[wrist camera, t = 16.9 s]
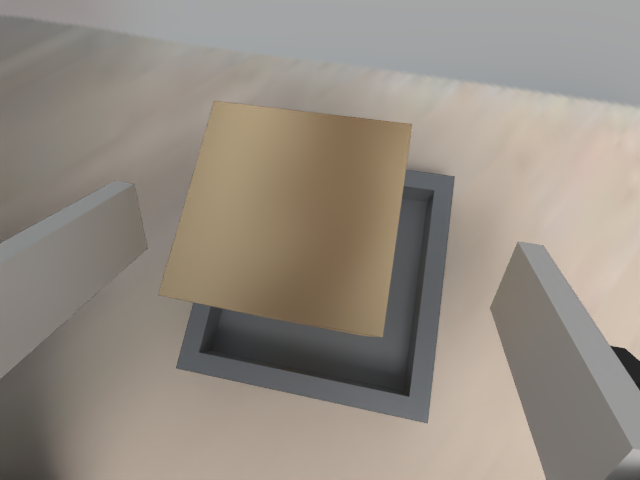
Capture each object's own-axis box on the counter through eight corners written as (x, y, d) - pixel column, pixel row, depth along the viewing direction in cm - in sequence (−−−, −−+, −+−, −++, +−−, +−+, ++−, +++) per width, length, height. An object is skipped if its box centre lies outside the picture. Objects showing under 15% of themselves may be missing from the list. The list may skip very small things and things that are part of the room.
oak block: (261, 316, 21) (158, 294, 10) (282, 220, 23) (214, 100, 11) (363, 336, 21) (382, 337, 9) (379, 235, 22) (412, 124, 10)
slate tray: (195, 364, 22) (175, 368, 19) (246, 165, 25) (235, 146, 22) (418, 412, 20) (427, 423, 18) (443, 193, 23) (454, 176, 21)
